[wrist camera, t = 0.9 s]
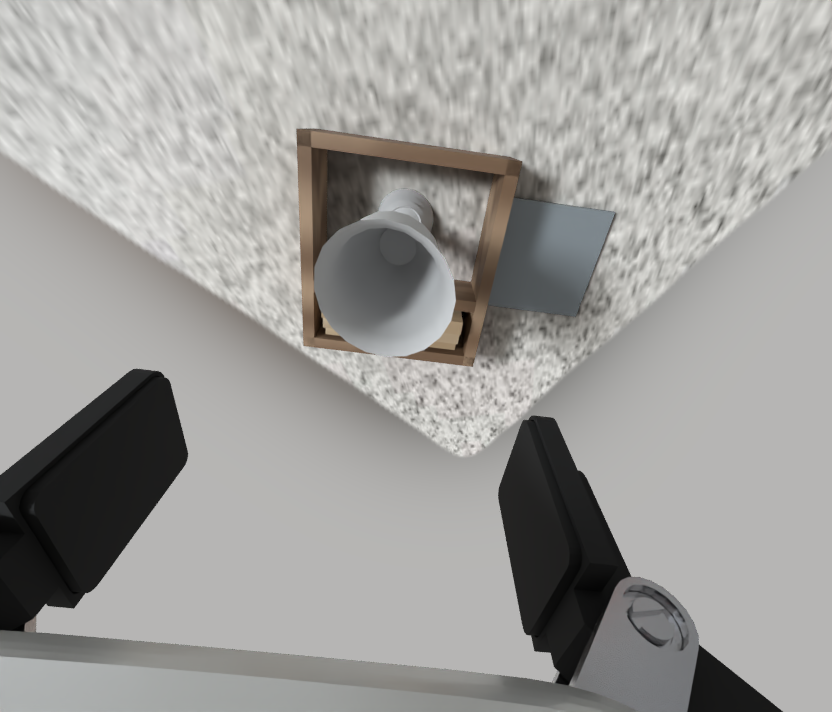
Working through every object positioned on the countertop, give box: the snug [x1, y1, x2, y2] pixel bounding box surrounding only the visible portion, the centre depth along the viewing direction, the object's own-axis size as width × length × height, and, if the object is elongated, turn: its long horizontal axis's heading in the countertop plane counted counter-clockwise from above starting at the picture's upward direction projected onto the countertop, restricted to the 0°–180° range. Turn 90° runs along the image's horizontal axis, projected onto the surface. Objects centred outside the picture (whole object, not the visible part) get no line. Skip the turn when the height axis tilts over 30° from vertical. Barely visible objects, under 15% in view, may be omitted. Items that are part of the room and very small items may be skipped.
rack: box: [297, 129, 522, 367], centre depth 33 cm, size 18×16×5 cm
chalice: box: [314, 188, 456, 357], centre depth 26 cm, size 7×7×18 cm
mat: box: [488, 198, 615, 317], centre depth 35 cm, size 10×9×1 cm
